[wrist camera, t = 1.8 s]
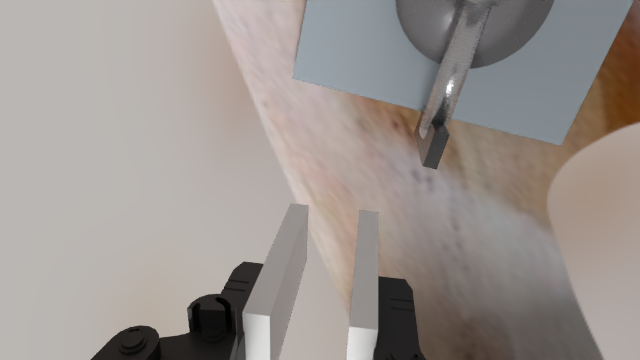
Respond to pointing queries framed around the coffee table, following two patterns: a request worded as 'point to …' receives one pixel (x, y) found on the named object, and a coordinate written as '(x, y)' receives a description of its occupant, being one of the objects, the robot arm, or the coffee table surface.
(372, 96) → the stand
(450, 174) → the coffee table surface
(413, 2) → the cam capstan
